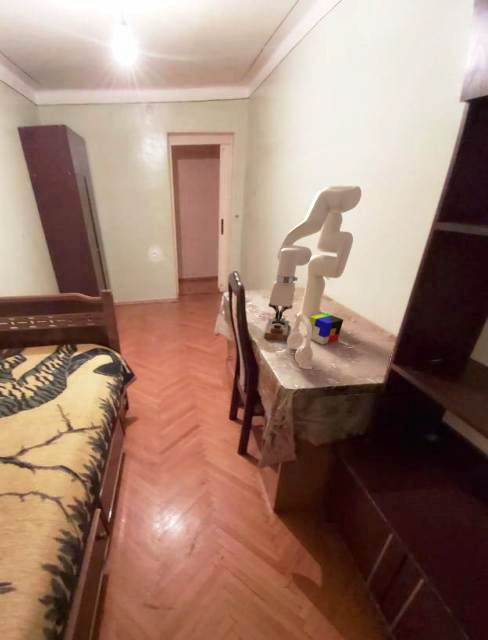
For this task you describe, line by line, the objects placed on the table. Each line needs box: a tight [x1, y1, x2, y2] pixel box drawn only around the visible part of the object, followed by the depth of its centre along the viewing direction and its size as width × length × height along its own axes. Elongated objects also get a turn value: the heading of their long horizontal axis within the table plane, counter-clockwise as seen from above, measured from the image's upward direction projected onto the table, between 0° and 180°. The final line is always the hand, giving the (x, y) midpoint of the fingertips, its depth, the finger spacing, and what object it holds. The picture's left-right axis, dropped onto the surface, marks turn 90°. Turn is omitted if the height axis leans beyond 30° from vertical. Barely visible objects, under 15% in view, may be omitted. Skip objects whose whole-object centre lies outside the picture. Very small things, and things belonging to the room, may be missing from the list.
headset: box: [286, 314, 314, 370], centre depth 127 cm, size 20×7×18 cm, turn 176°
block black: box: [267, 316, 290, 328], centre depth 161 cm, size 10×10×4 cm
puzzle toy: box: [305, 312, 344, 345], centre depth 147 cm, size 10×10×10 cm
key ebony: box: [274, 323, 281, 328], centre depth 150 cm, size 3×3×2 cm
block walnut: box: [264, 324, 289, 342], centre depth 152 cm, size 10×10×4 cm
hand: (278, 320), depth 148 cm, fingers closed
